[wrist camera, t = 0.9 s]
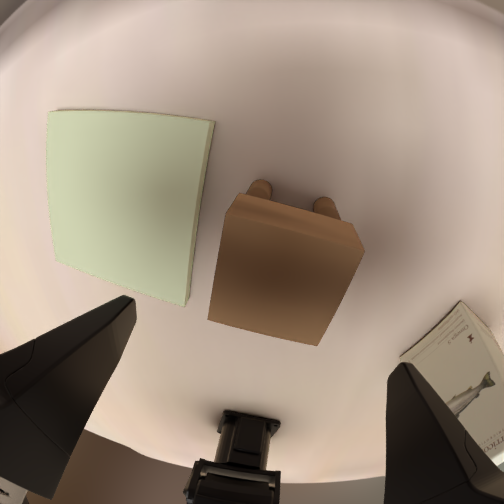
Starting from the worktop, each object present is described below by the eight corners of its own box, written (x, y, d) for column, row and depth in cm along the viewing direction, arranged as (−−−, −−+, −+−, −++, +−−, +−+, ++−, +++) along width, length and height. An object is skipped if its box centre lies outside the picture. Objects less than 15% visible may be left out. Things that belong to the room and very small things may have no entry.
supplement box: (460, 297, 16) (527, 437, 5) (490, 329, 17) (539, 437, 6) (395, 356, 20) (422, 495, 9) (436, 377, 21) (462, 486, 10)
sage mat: (189, 298, 19) (184, 307, 18) (63, 255, 19) (56, 260, 19) (215, 121, 13) (209, 122, 12) (57, 110, 13) (48, 111, 13)
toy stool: (312, 274, 17) (317, 346, 12) (233, 253, 17) (207, 319, 12) (339, 199, 14) (364, 251, 9) (251, 175, 14) (225, 213, 9)
